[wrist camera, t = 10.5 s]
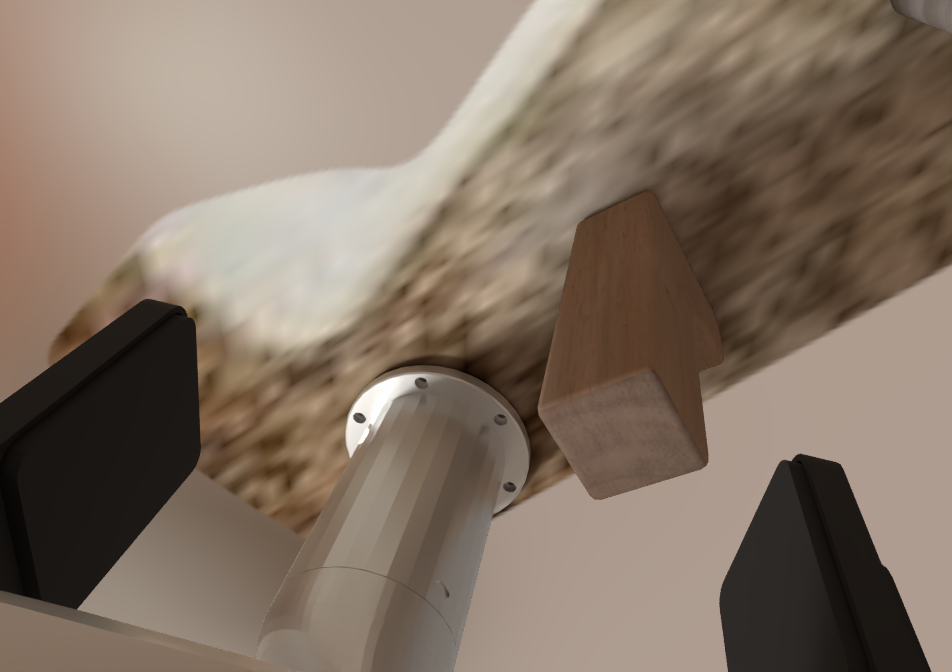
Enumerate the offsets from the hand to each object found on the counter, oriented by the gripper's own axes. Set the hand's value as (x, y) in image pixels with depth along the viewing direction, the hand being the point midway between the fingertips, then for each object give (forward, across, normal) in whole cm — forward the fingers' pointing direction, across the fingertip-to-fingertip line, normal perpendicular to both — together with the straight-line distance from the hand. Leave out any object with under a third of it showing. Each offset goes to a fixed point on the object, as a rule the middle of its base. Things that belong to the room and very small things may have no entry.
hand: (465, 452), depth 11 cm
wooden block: (+30, -6, +8) cm, 31 cm away
